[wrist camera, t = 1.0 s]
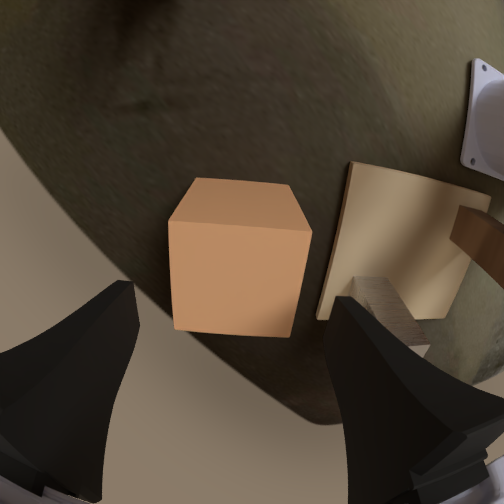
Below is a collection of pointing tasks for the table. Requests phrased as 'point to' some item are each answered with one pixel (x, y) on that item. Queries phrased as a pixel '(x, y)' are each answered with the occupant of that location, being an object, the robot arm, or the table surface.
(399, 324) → the post
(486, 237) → the post
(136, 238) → the table surface
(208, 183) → the tan rectangular block
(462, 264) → the board
